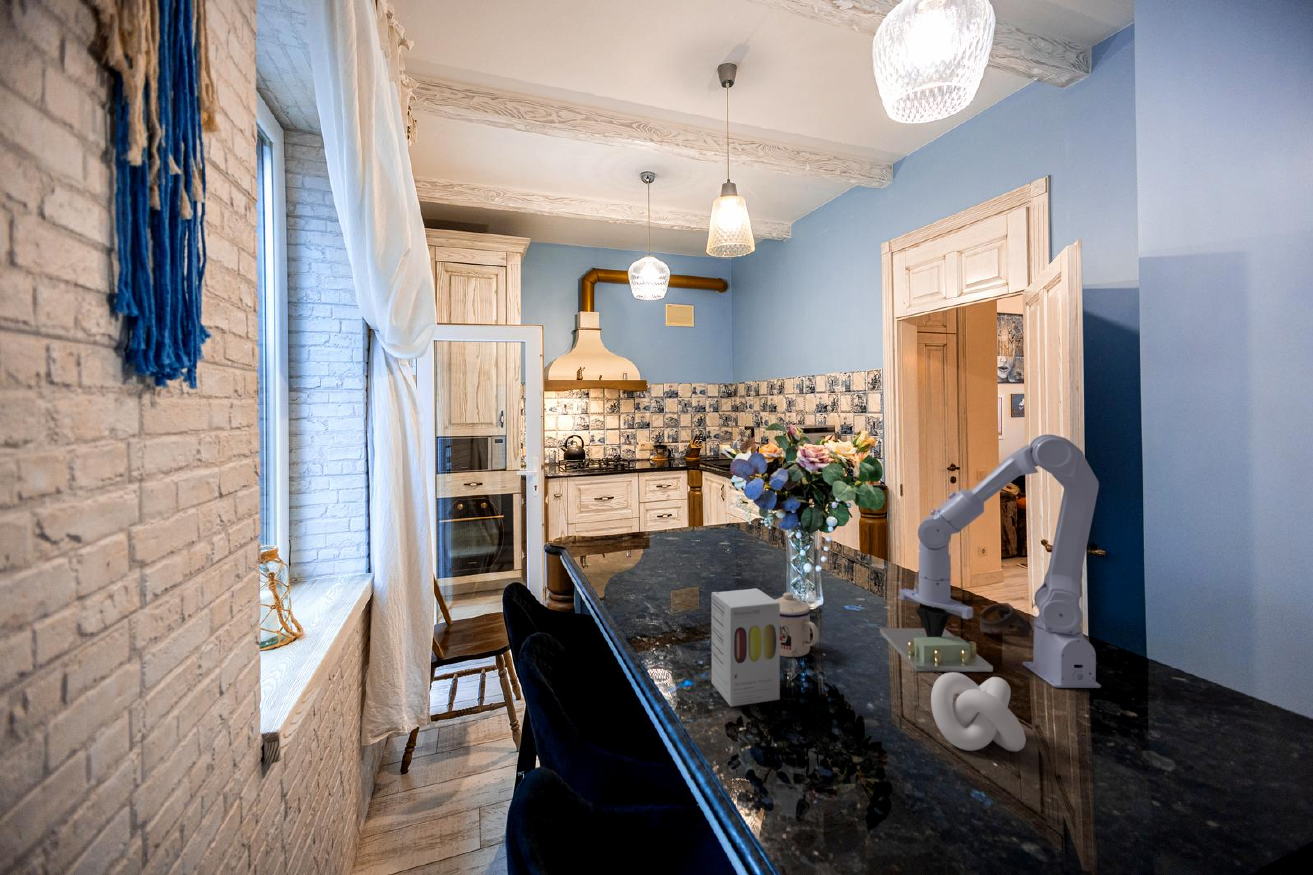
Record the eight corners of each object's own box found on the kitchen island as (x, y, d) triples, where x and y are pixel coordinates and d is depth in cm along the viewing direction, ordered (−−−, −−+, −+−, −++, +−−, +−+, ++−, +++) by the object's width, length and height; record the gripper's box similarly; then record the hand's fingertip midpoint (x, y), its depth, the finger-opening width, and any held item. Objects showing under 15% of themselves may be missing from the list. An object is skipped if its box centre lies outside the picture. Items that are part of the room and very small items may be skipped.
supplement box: (730, 708, 92) (728, 607, 92) (710, 683, 101) (708, 591, 100) (782, 699, 95) (781, 602, 94) (758, 676, 103) (757, 586, 103)
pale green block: (970, 660, 107) (970, 644, 106) (924, 661, 106) (924, 645, 106) (958, 651, 111) (958, 636, 110) (913, 652, 110) (913, 637, 110)
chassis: (992, 671, 104) (992, 653, 104) (916, 671, 104) (916, 653, 104) (944, 632, 123) (944, 617, 123) (880, 632, 123) (880, 617, 123)
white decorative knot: (943, 710, 90) (943, 656, 90) (1032, 735, 83) (1032, 676, 83) (925, 741, 82) (925, 682, 81) (1022, 773, 74) (1022, 707, 74)
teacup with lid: (757, 647, 116) (756, 592, 116) (786, 637, 122) (786, 584, 121) (802, 667, 107) (801, 607, 106) (832, 655, 112) (831, 598, 112)
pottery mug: (1042, 652, 113) (1021, 618, 113) (993, 662, 118) (973, 629, 118) (1034, 619, 123) (1015, 587, 123) (990, 629, 128) (972, 599, 128)
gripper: (982, 582, 107) (981, 651, 108) (914, 566, 120) (914, 628, 120) (960, 588, 104) (960, 659, 104) (893, 570, 116) (893, 634, 117)
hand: (934, 643), depth 112 cm, fingers closed
